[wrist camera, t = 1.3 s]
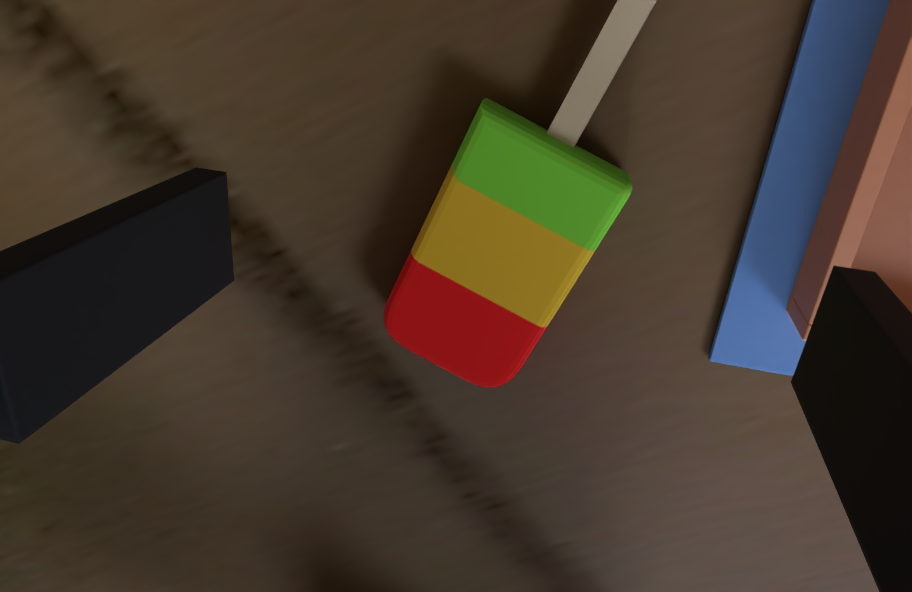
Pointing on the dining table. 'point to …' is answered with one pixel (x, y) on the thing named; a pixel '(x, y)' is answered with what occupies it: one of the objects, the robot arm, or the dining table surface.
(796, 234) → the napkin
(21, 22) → the dining table surface
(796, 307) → the tray
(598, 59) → the popsicle
